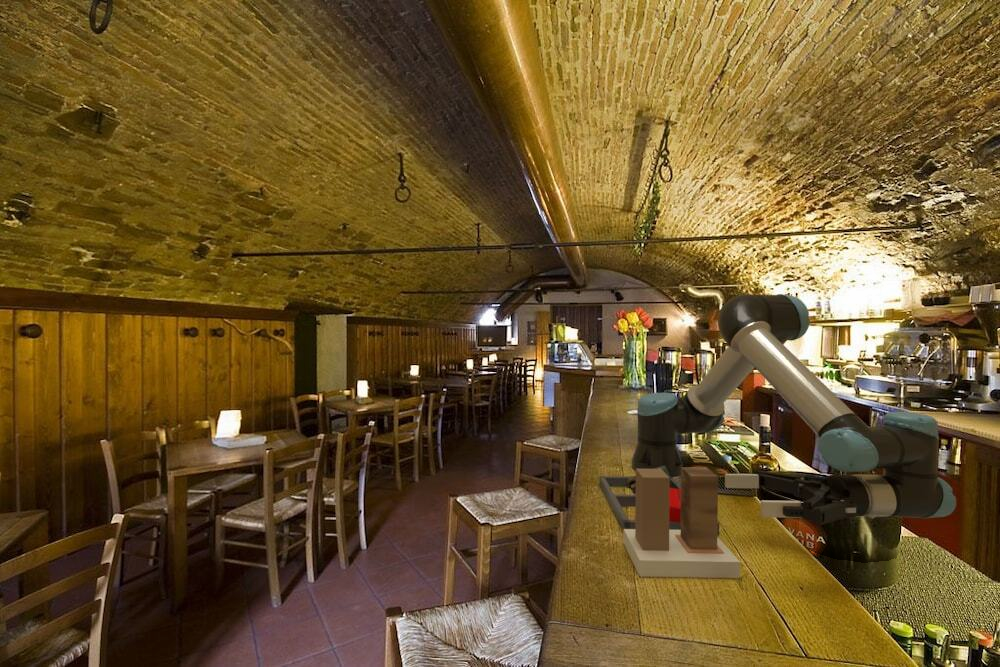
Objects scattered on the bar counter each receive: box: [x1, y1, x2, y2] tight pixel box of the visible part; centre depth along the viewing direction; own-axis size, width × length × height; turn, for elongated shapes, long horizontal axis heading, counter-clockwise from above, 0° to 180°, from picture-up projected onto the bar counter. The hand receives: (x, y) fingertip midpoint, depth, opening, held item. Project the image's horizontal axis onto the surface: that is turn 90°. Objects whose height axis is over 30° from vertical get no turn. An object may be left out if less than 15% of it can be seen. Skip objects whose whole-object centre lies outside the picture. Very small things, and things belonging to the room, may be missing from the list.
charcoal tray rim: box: [599, 475, 720, 536], centre depth 109 cm, size 29×20×2 cm
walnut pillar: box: [680, 466, 719, 550], centre depth 85 cm, size 5×5×14 cm
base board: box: [622, 469, 741, 579], centre depth 85 cm, size 12×18×17 cm, turn 88°
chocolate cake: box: [626, 465, 671, 495], centre depth 118 cm, size 10×7×12 cm
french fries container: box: [669, 488, 681, 523], centre depth 103 cm, size 7×9×14 cm
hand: (742, 493), depth 84 cm, fingers open, 13 cm apart
